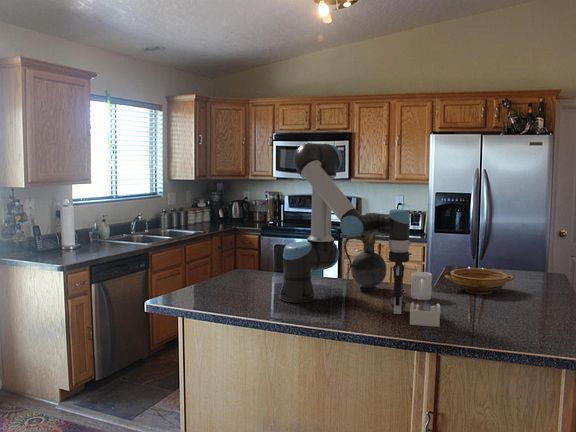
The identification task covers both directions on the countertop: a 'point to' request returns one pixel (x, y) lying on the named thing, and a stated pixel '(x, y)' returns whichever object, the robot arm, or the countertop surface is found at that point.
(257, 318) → the countertop surface
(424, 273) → the mug
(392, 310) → the grey tapered rounded piece
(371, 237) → the pitcher
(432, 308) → the clip
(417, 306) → the clip
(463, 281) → the ceramic bowl
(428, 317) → the end holder
